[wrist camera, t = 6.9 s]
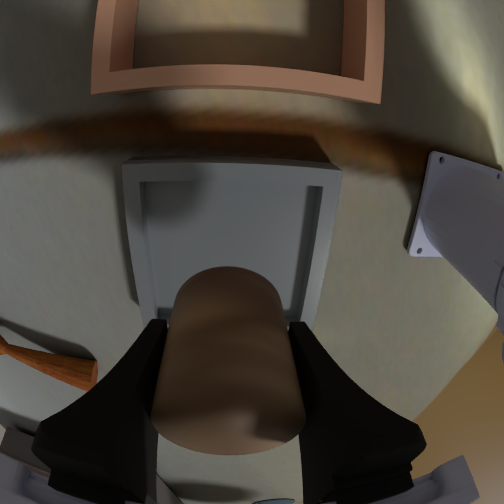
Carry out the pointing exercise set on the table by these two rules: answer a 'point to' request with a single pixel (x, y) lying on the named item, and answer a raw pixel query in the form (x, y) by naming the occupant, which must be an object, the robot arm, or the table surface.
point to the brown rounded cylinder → (228, 367)
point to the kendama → (56, 365)
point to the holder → (241, 76)
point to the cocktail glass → (276, 501)
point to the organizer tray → (20, 450)
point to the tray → (229, 225)
